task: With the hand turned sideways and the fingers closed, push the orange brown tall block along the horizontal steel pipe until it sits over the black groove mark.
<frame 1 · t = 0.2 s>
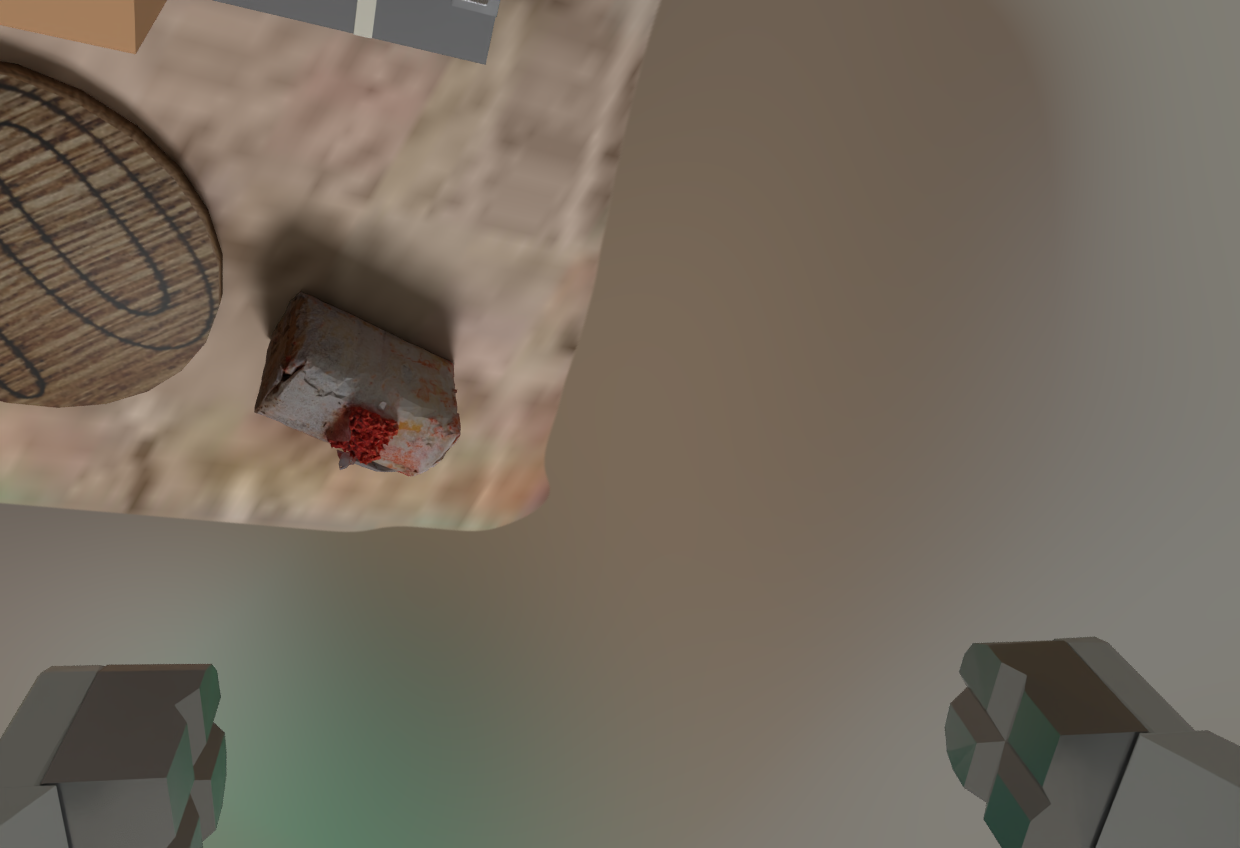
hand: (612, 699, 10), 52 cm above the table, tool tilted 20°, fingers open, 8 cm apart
trivet: (18, 241, 62), on the table
food item: (367, 354, 72), on the table
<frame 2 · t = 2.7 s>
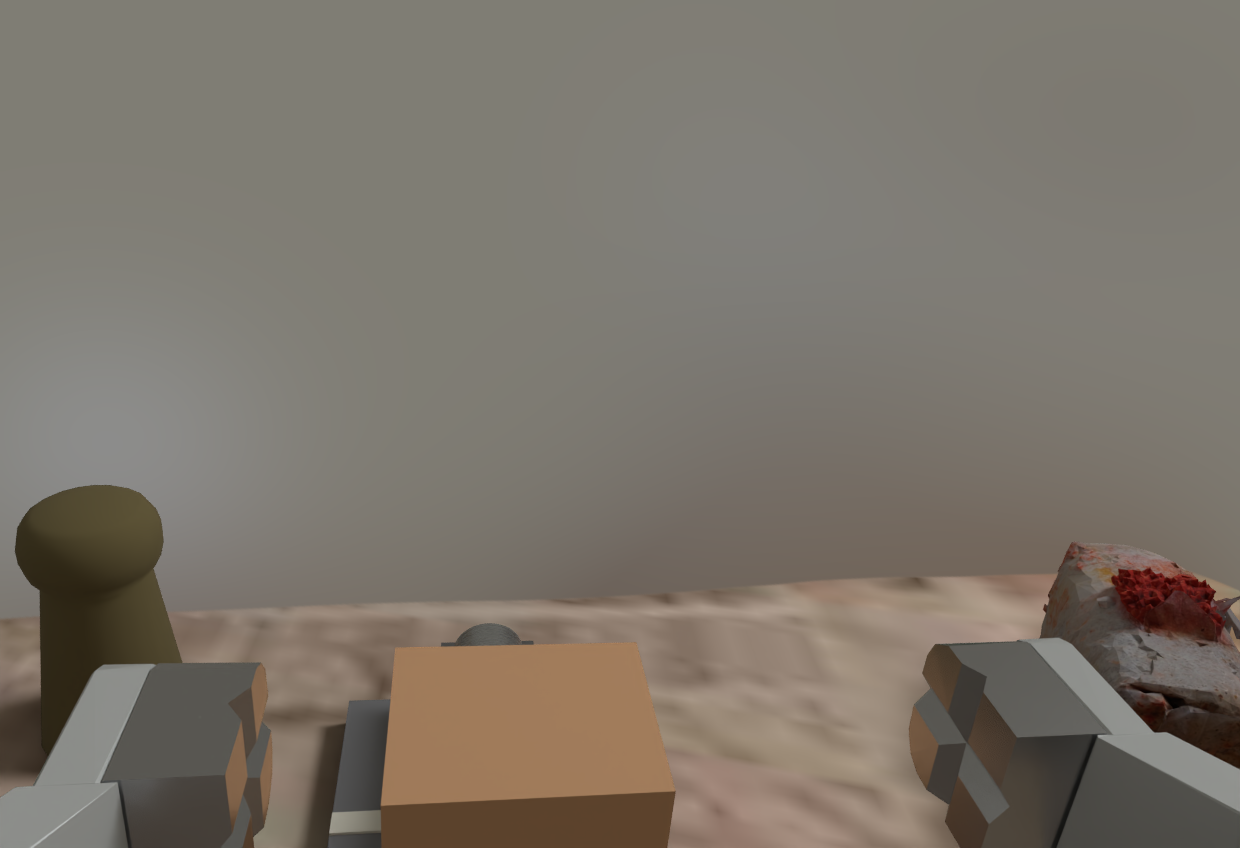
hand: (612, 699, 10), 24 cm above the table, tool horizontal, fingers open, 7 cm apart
cork: (121, 724, 43), on the table
food item: (1116, 758, 46), on the table
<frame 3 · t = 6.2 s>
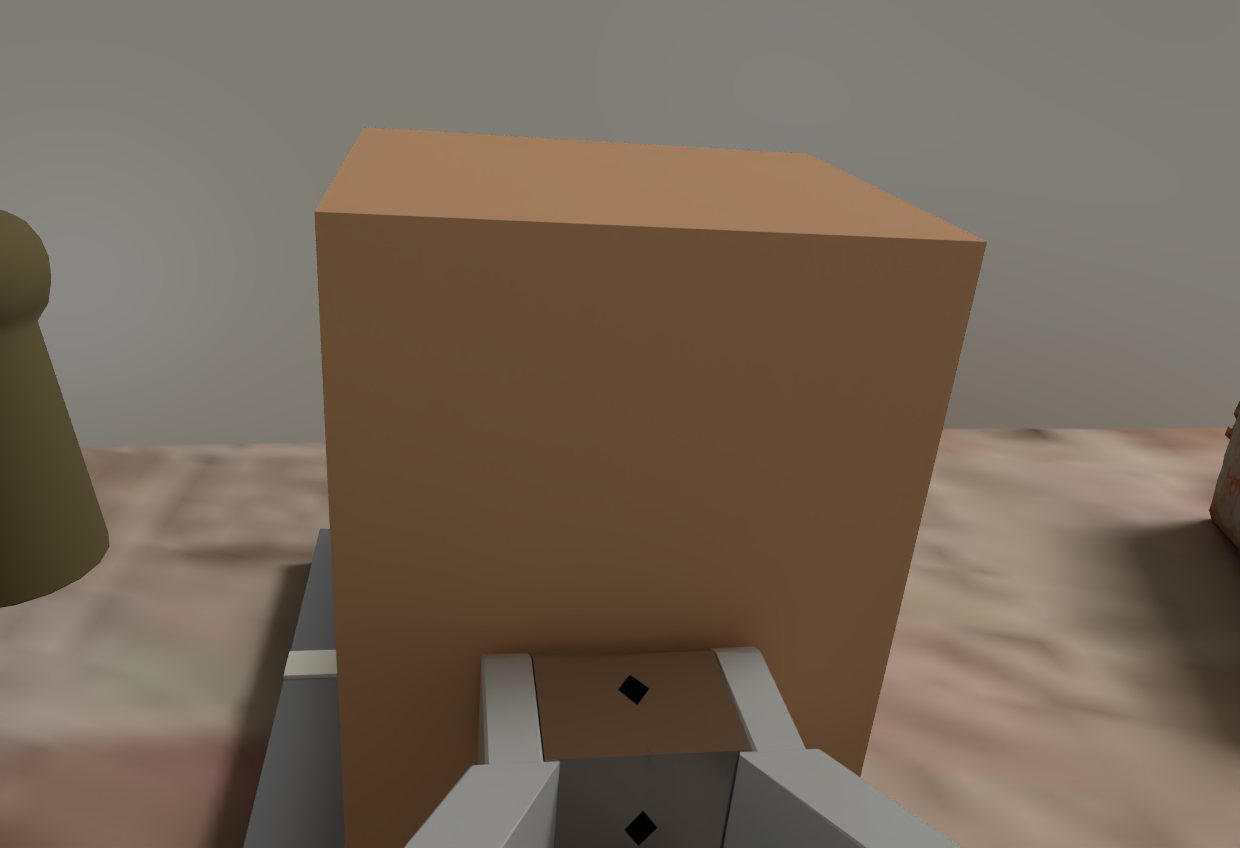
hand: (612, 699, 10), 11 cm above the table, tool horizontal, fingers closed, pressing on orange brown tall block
base board: (529, 839, 22), on the table
orange brown tall block: (583, 694, 14), point 9 cm above the table, slide at -5.5 cm, touching gripper
cork: (4, 561, 31), on the table
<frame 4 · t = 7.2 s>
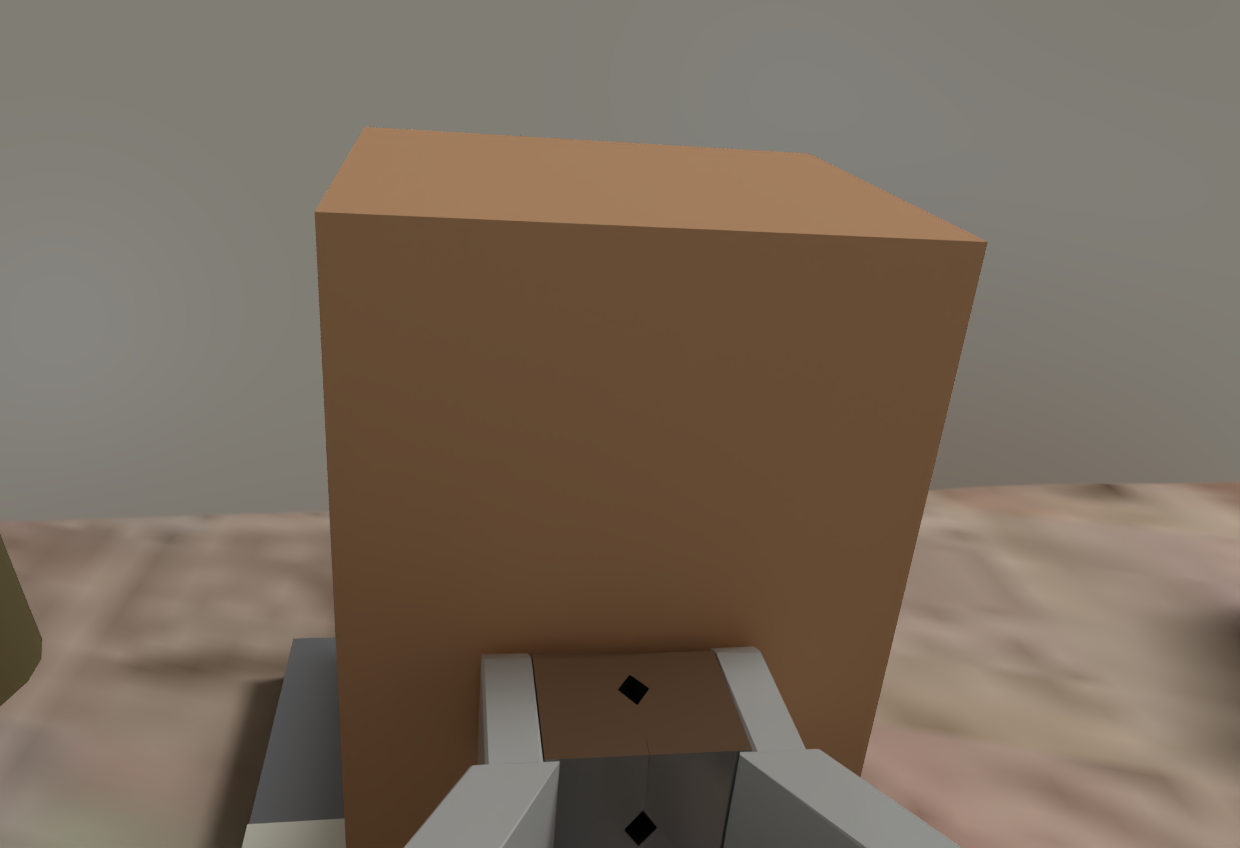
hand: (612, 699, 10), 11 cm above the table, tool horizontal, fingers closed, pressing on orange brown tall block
orange brown tall block: (583, 693, 14), point 9 cm above the table, slide at 0.3 cm, touching gripper
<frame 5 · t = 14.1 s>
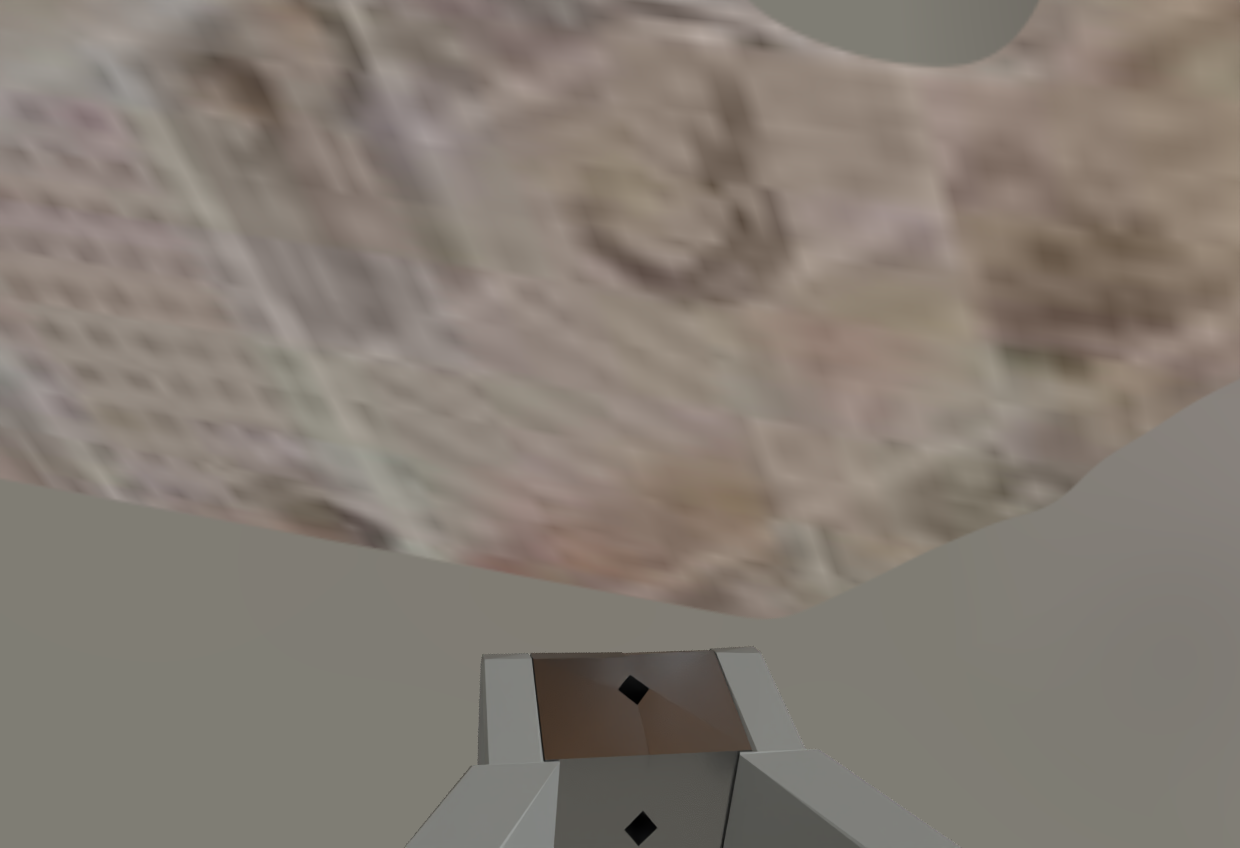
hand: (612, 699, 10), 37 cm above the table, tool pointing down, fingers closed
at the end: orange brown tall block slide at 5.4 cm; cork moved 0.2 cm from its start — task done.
